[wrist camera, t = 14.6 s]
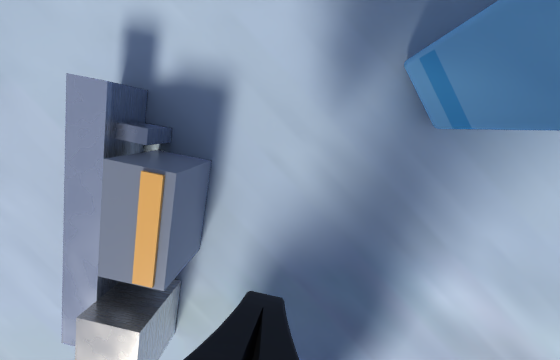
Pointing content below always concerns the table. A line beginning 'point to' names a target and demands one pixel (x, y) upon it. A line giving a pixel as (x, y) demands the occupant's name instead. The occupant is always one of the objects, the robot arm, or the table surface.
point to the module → (151, 216)
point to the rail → (86, 229)
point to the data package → (494, 70)
